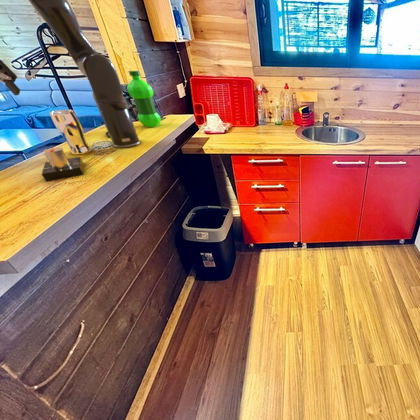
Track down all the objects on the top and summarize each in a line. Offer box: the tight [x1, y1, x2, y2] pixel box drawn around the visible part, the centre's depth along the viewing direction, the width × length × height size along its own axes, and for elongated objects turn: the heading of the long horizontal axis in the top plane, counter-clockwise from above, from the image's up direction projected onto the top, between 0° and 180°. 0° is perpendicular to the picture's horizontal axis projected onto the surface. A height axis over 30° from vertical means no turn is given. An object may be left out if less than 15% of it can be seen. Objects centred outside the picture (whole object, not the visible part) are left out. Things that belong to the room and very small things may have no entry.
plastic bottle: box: [126, 70, 162, 128], centre depth 125 cm, size 10×10×25 cm
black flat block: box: [41, 156, 84, 182], centre depth 84 cm, size 11×9×3 cm
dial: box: [42, 147, 71, 169], centre depth 81 cm, size 4×4×6 cm
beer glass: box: [49, 109, 92, 155], centre depth 96 cm, size 7×7×15 cm
